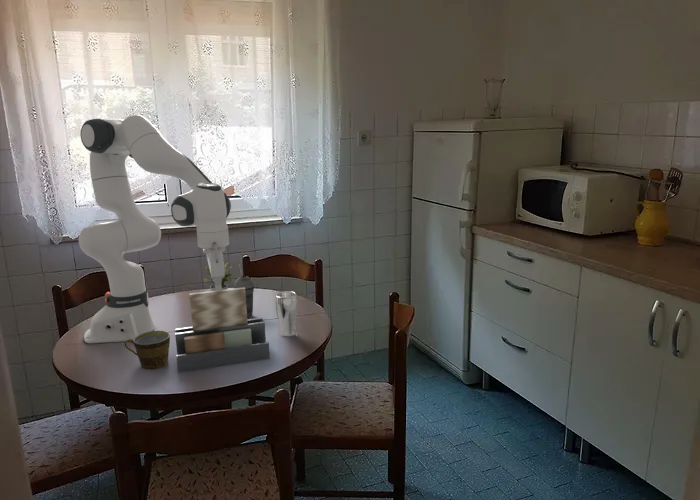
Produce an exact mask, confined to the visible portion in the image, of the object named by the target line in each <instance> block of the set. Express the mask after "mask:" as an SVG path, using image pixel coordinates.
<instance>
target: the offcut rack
mask: <svg viewBox="0 0 700 500" xmlns="http://www.w3.org/2000/svg"><path fill="white" fill-rule="evenodd" d="M247 322H248V324H241V325H234V326H226V327H219V328H211V329H203V330H196V331H193V326H187V327H178V328H175V333H174V335H175V336H174V337H175V345H176V363H177V373H185V372H186V373H187V372H193V371H197V370H198V371H200V370H205V369H212V368H219V367H225V366H231V365H233V366H234V365H237V364H244V363H252V362H258V361H264V360H271V359H270V343H269V341H266V339H267V338H266V322H265V321H264V318H263V317H257V318H248V319H247ZM248 328H250V329H251V337H252V344H250V345H243V346H236V347H229V348H222V349H215V350H208V351H201V352H194V353H187V354H186V351H185V341H184V337H189V336H197V335H204V334H212V333H219V332H226V331H233V330H241V329H248Z"/></svg>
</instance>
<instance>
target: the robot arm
mask: <svg viewBox="0 0 700 500" xmlns="http://www.w3.org/2000/svg"><path fill="white" fill-rule="evenodd" d="M79 133H80V134H79V135H80V141H81V143H82V145H83V146H84V148H85V149H86V150H87V151H89V152H90V154H89V172H90V178H91V184H92V189H93V194H94V198H95V202H96V204H97V206H98V207H99V208H101V209H103V210H105V211H108V212H112V213H113V214H115V215H116V217H117V220H115V221H107V222H99V223H98V222H97V223H95V224H94V223H93V224H91V225H87V226H86V227H83V228H82V229H81V231H80V233H79V236H78V246H79V248H80V250H81V251H82V252H83V253H84V254H85V255H86V256H88V257H90V258H92V259H93V260H95V261H96V262H98V263H99V264H100V266H102V268H104V271H105V273H106V276H107V279H108V285H109V289H110V291H107V292H106V293H105V294H104V303H105V305H104V306H103V307H102V308H101V309H100V310H98V312H96V313H95V314H94V315H93V316H92V318H91V321H90V325H89V326H90V327H89V328H88V329H87V330H86V331H85V333H84V334H83V341H84V343H87V344H98V343H99V344H100V343H117V342H118V343H119V342H126V341H127V340H129V339H132V340H133V339H134V338H135V337H136V336H138V335H140V334H142V333H145V332H150V331H155V330H156V325H155V323H154V321H153V318H152V315H151V311H150V308H149V303H150V300H149V294H148V290H147V289H146V282H145V280H146V279H145V273H144V269H143V268H142V267H141V266H140V265H139V264H137V263H135V262H132V261H129V260H125V258H124V255H125V254H127V253H132V252H139V251H145V250H147V249H151V248H153V247H155V246H157V245H159V242H160V241H161V238H162V230H161V226H160V225H159V223H158V222H157V220H155V219H153V218H152V217H149V215H148V216H147V214H145V213H144V212H143V211H142V210H141V209H140V208H139V207H138V205H137V204H136V201H135V199H134V197H133V194H132V190H131V186H130V181H129V178H128V171H127V168H126V160H127V158H128V157H130V158H131V159H133V160H134V162H135V163H136V164H137V165H138V166H139V167H140V168H141V169H142V170H144V171H145V172H147V173H151V174H155V175H162V176H169V177H173V178H176V179H179V180H182V181H183V182H184V183H186V184H187V185H188V186H189V188H191V190H190V191H188V192H186V193H183V194H180V195H176V197H174V198H173V200H172V203H171V205H170V206H171V207H170V212H171V213H170V214H171V216H172V219H173V221H174V222H175V223H176V224H178V225H179V226H180V227H185V228H187V227H194V226H195V227H196V240H197V247H198V248H201V249H202V251H203V253H205V256H206V260H207V265H209V266H208V268H209V269H210V272H209V273H210V274H211V276H210V277H211V280H212V281H214V283H215V290H216V291H219V290H222V285H221V283H222V278H224V276H225V274H226V271H224V265H225V262H224V253H223V252H225V251H226V247H228V246H230V238H229V226H228V224H227V218H228V217H229V215H230V213H231V209H232V202H231V200H230V198H229V197H228V194H227V193H225V192H224V189H223V187H222V186H221V185H220V184H217V183H214V182H212V181H211V180H210V179H209V178H208V176H206V175H205V173H204V172H203V171H202V170H201V169H200V168H199V167H198V166H197V165H196V164H195V163H194V161H192V160H191V158H189V157H188V156H187V155H185V154H183V153H181V152H180V151H178V150H177V149H176V148H175V147H173V146H172V145H171V144H170V143H169V142H168V141H167V140H166V138H165V137H164V136H163V135H162V134H161V132H160V131H159V129H158V128H157V127H155V125H154V124H153V123H152V122H151V121H150V120H149V119H147V117H145V116H143V115H140V114H132V115H129V116H127V117H125V118H124V119H121V118H104V119H101V118H92V119H88V120H86V121H85V122H84V123H83V124H82V126H81V127H80V132H79Z"/></svg>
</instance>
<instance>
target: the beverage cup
mask: <svg viewBox="0 0 700 500" xmlns="http://www.w3.org/2000/svg"><path fill="white" fill-rule="evenodd" d="M238 268H239V273H240V276H239V277H238V278H236V279H235V282H234V287H233V289H234V288H243V287H245V294H246V308H247V320H248V319H252V317H253V315H254V314H253V312H254V292H255V291H254V289H255V285H254V281H253V279H252V278H251V277H249V276H247V275H243V273H242V266H241V264H240V263H239V264H238Z"/></svg>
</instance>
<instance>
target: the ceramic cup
mask: <svg viewBox="0 0 700 500" xmlns="http://www.w3.org/2000/svg"><path fill="white" fill-rule="evenodd" d="M170 334H171V333H170V332H168V331H166V330H165V331H164V330H153V331H150V332H145V333H142V334H140V335H138V336H136V337H135V338H134V339H133V340H132V339H129V340H127V341H124V348H126V349H127V350H129V351H130V352H131V353H133V354H134V355H135V356H137V357H138V360H139V363H140V366H141V368H142V369H144V370H145V371H146V370H147V371H148V370H150V371H152V370H154V371H155V370H159V369H161V368H163V367H166V365H167V364H168V363H169V351H170V350H169V349H170V344H171V343H170V342H171V335H170ZM127 343H131V344H133V346H134V349H135V351H134V350H133V349H131V348H130V347H128V345H127Z"/></svg>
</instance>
